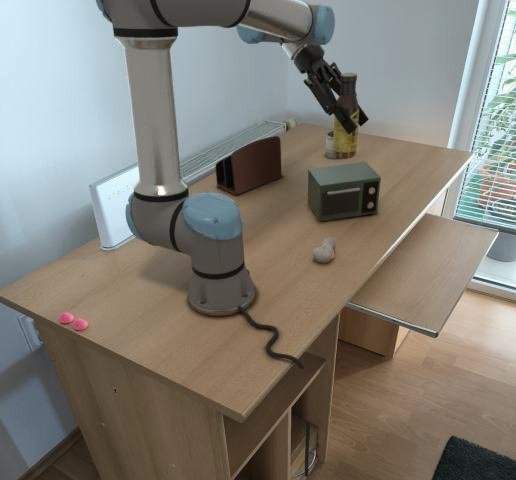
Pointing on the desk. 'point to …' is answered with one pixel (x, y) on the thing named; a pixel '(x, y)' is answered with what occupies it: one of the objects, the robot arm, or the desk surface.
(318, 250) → the pale two-lobed sculpture
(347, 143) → the sauce bottle
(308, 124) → the desk surface
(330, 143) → the camera lens
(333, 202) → the toaster oven
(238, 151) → the letter holder
